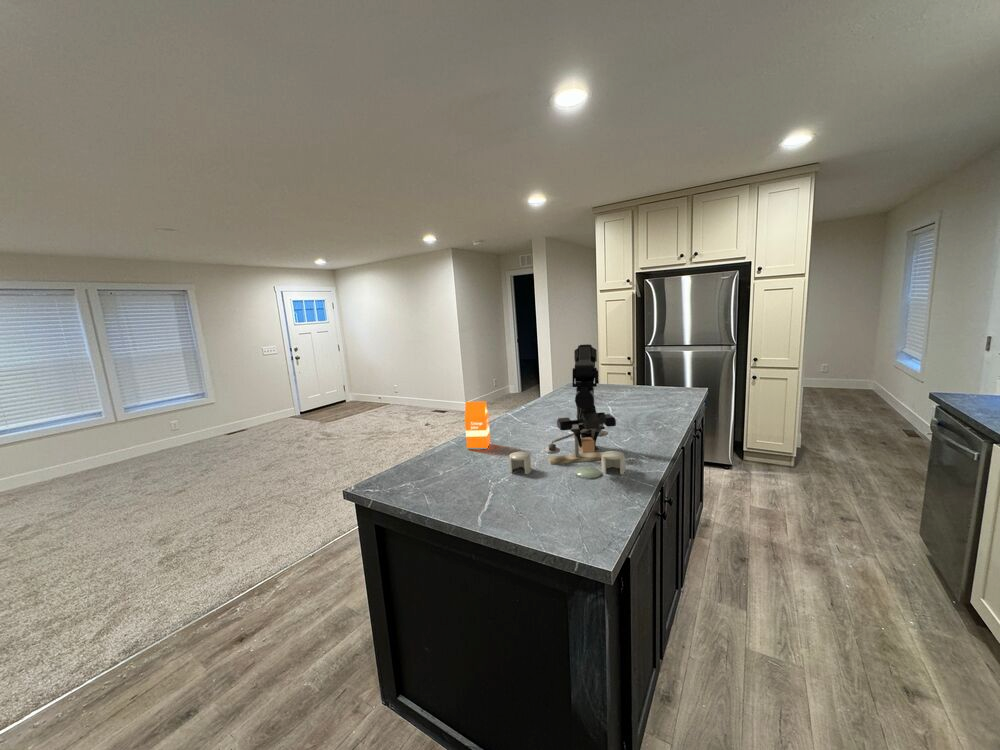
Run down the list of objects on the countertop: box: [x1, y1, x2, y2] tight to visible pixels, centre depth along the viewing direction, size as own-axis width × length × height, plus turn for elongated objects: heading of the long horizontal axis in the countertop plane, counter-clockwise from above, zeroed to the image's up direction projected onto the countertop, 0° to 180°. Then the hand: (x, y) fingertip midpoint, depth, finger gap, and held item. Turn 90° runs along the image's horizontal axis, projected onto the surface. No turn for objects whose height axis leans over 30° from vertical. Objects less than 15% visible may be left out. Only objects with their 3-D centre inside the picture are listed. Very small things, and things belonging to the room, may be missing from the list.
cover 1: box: [508, 451, 532, 475], centre depth 142 cm, size 7×7×6 cm
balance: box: [544, 429, 609, 465], centre depth 149 cm, size 24×6×13 cm, turn 94°
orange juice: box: [464, 401, 491, 449], centre depth 170 cm, size 8×9×20 cm
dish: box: [574, 466, 602, 480], centre depth 137 cm, size 9×9×1 cm
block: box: [579, 437, 596, 454], centre depth 135 cm, size 4×4×4 cm
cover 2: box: [601, 450, 626, 475], centre depth 137 cm, size 7×7×6 cm
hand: (586, 446), depth 135 cm, fingers closed on block, 4 cm apart
